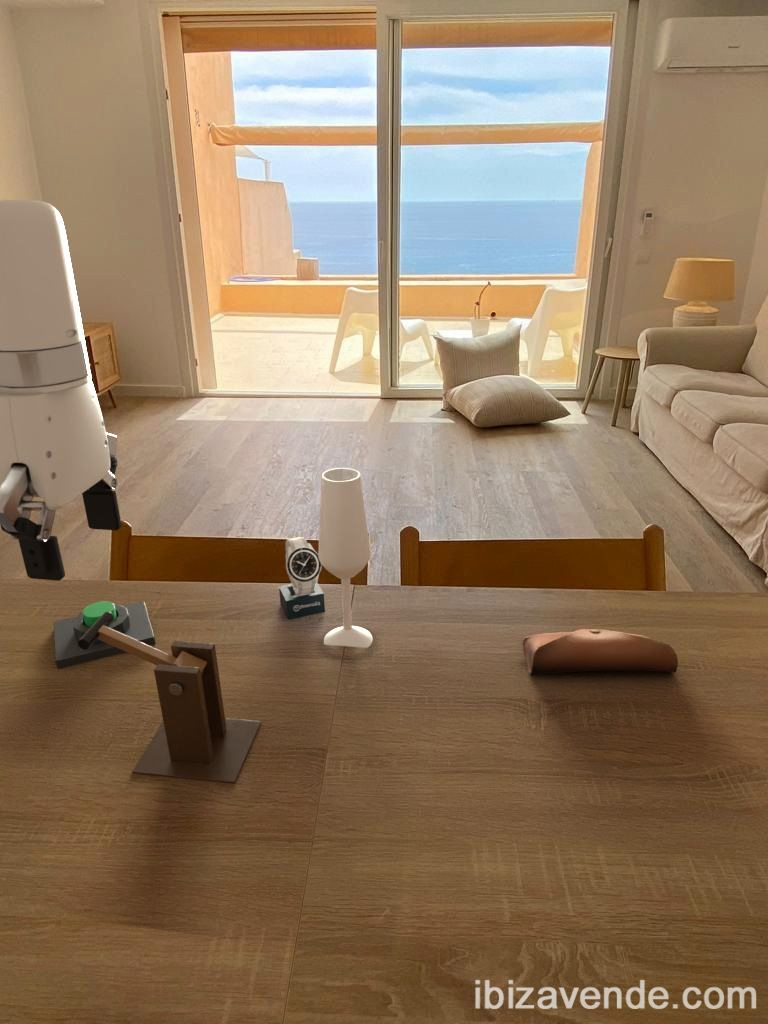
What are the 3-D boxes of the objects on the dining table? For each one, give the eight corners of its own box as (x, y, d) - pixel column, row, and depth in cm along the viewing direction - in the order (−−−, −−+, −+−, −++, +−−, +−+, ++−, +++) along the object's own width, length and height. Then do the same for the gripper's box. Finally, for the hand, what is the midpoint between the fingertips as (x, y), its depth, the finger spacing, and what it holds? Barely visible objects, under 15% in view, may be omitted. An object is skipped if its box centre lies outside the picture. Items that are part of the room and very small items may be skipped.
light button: (86, 631, 90) (83, 620, 90) (84, 616, 94) (81, 605, 93) (118, 623, 92) (115, 612, 91) (115, 609, 95) (112, 598, 95)
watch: (291, 627, 97) (285, 557, 93) (277, 599, 104) (271, 533, 99) (329, 618, 99) (325, 550, 94) (313, 591, 106) (309, 526, 101)
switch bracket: (133, 780, 72) (111, 680, 66) (169, 721, 80) (153, 627, 75) (235, 791, 70) (221, 689, 65) (262, 729, 78) (251, 634, 73)
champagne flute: (320, 628, 97) (310, 467, 87) (368, 623, 98) (363, 463, 88) (326, 657, 91) (316, 487, 81) (377, 650, 92) (373, 482, 82)
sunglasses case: (653, 635, 93) (669, 612, 88) (665, 685, 89) (683, 665, 84) (518, 636, 93) (526, 614, 88) (525, 687, 89) (533, 667, 84)
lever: (75, 650, 68) (80, 633, 67) (100, 622, 73) (106, 605, 72) (186, 700, 69) (193, 684, 68) (205, 669, 73) (212, 653, 72)
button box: (59, 675, 88) (52, 649, 86) (56, 634, 96) (50, 610, 95) (156, 650, 92) (152, 625, 91) (146, 613, 101) (142, 590, 99)
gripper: (57, 343, 65) (90, 510, 72) (-83, 390, 49) (-23, 597, 56) (133, 346, 64) (158, 515, 71) (14, 394, 48) (62, 605, 55)
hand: (78, 551), depth 64 cm, fingers open, 9 cm apart
